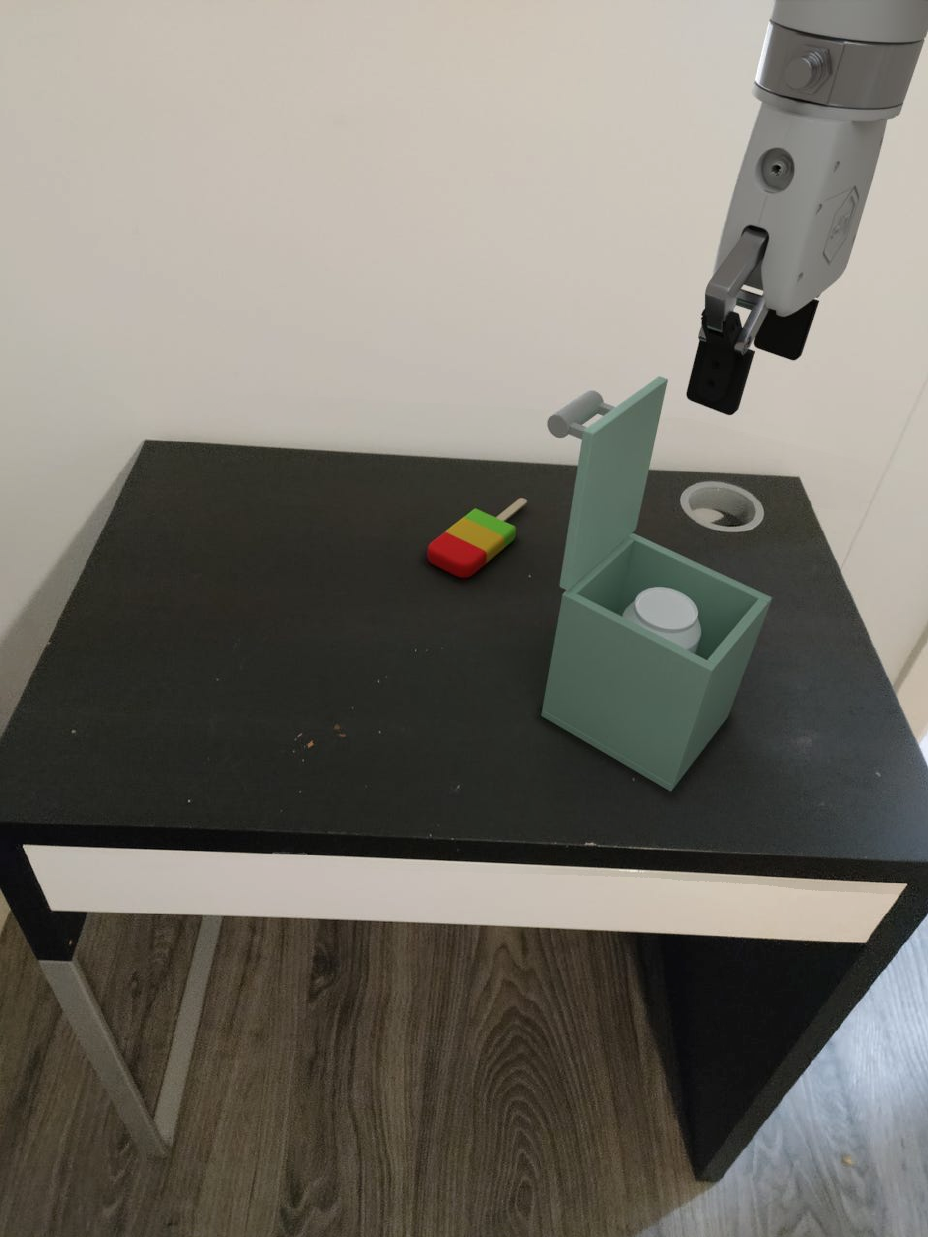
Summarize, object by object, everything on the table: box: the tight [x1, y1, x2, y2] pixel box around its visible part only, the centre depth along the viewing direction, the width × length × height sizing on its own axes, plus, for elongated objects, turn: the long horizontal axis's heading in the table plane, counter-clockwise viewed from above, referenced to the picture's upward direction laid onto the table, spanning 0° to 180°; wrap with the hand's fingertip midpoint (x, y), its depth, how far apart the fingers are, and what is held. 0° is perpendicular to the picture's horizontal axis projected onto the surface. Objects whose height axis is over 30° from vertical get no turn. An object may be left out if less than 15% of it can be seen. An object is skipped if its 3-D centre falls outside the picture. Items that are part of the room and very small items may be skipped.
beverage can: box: [622, 587, 701, 654], centre depth 76 cm, size 6×6×12 cm
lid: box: [547, 375, 669, 591], centre depth 70 cm, size 14×11×5 cm
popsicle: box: [426, 497, 528, 579], centre depth 98 cm, size 6×15×2 cm, turn 145°
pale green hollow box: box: [540, 532, 773, 792], centre depth 76 cm, size 13×11×14 cm
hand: (745, 377), depth 59 cm, fingers open, 9 cm apart
